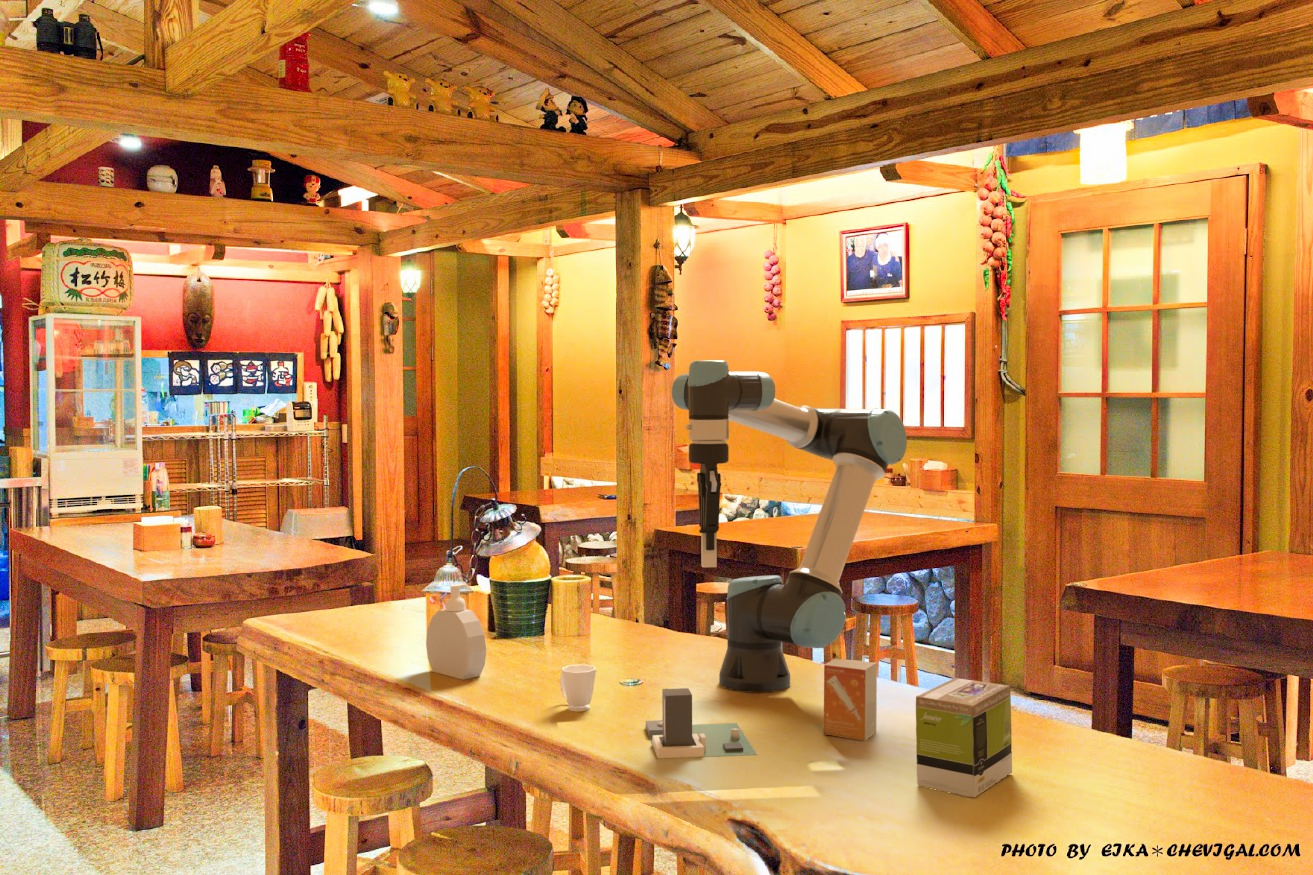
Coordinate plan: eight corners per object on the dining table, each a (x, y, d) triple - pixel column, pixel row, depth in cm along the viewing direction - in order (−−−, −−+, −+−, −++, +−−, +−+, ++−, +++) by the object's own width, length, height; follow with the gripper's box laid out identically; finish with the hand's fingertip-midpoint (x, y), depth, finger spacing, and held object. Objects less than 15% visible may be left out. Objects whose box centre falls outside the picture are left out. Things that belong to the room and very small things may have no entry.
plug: (688, 745, 198) (688, 688, 198) (692, 753, 194) (692, 694, 194) (662, 746, 198) (662, 689, 198) (665, 754, 193) (665, 695, 193)
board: (736, 729, 212) (736, 714, 212) (757, 761, 194) (757, 745, 193) (645, 732, 211) (645, 717, 210) (657, 765, 192) (657, 749, 192)
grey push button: (678, 733, 210) (678, 718, 210) (685, 748, 201) (685, 733, 201) (645, 734, 210) (645, 719, 209) (651, 750, 200) (651, 734, 200)
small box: (823, 735, 209) (822, 664, 208) (835, 726, 214) (835, 657, 214) (865, 741, 205) (865, 669, 204) (877, 732, 210) (877, 662, 210)
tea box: (955, 762, 193) (955, 675, 192) (1013, 775, 186) (1014, 684, 186) (914, 786, 181) (914, 693, 181) (974, 800, 175) (975, 704, 174)
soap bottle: (488, 677, 253) (487, 587, 252) (469, 682, 249) (468, 590, 248) (445, 666, 264) (444, 580, 263) (425, 670, 260) (424, 582, 259)
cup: (573, 715, 222) (572, 674, 222) (547, 704, 230) (546, 664, 230) (603, 709, 226) (603, 669, 226) (576, 699, 235) (576, 659, 234)
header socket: (701, 742, 200) (701, 728, 200) (708, 756, 193) (708, 742, 193) (652, 744, 199) (652, 730, 199) (657, 758, 192) (657, 744, 192)
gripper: (684, 441, 223) (684, 562, 223) (694, 443, 210) (694, 572, 211) (722, 440, 224) (722, 561, 224) (734, 443, 211) (734, 571, 211)
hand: (709, 566), depth 217 cm, fingers closed
